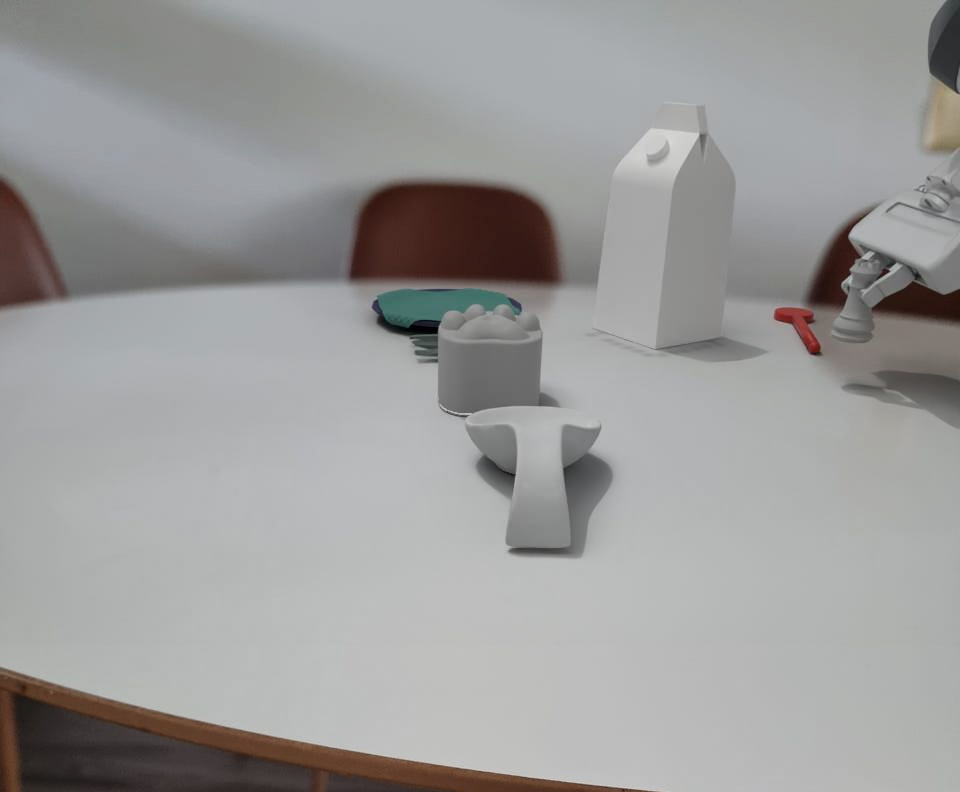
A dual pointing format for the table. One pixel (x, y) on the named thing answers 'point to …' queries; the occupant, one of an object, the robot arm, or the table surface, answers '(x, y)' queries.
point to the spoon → (800, 324)
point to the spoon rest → (535, 465)
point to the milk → (667, 235)
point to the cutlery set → (434, 309)
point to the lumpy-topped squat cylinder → (488, 359)
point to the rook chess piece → (857, 306)
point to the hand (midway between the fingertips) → (854, 297)
